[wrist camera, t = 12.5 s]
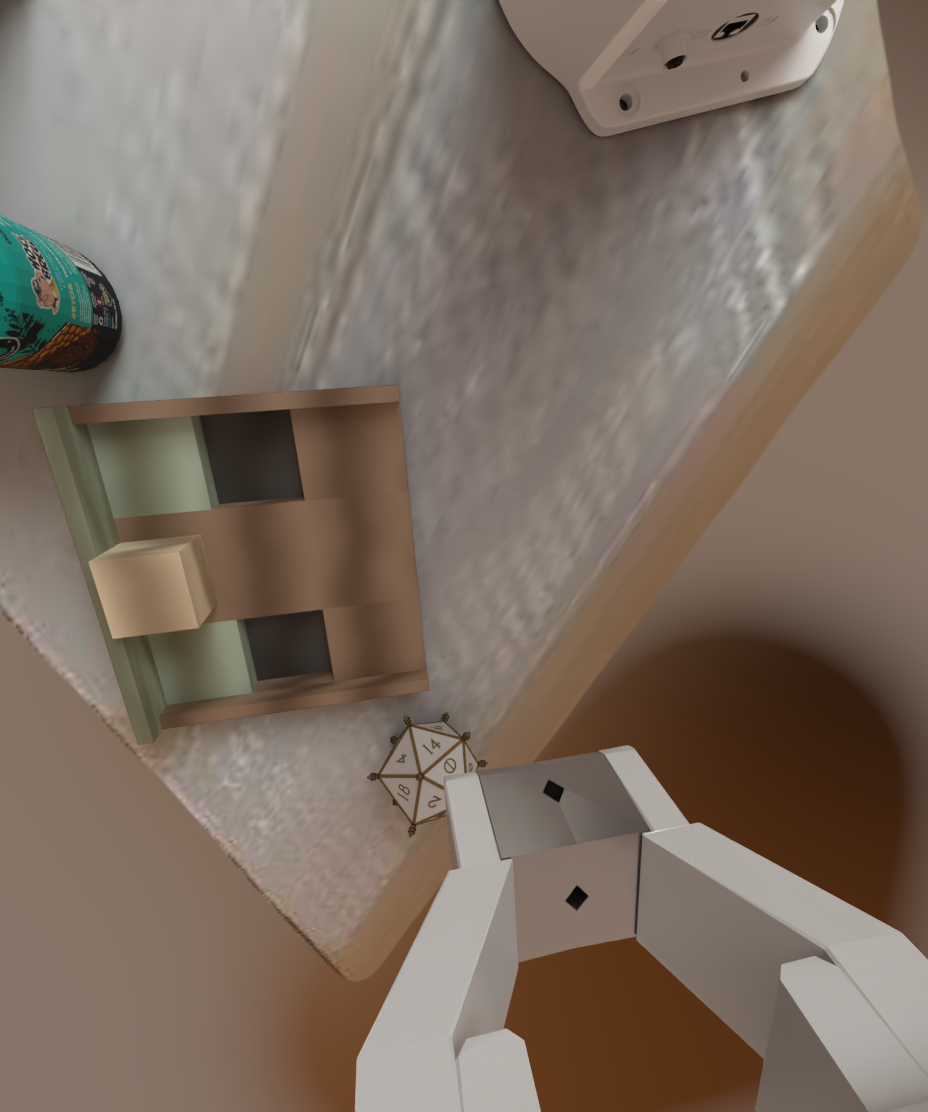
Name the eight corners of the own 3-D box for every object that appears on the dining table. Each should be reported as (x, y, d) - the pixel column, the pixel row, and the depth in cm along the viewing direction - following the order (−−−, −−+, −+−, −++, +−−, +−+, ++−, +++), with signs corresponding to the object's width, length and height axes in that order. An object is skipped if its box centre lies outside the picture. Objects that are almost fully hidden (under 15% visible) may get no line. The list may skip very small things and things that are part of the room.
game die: (406, 700, 47) (378, 698, 38) (497, 723, 46) (492, 726, 36) (379, 804, 45) (342, 830, 35) (474, 832, 43) (463, 865, 34)
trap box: (397, 385, 35) (399, 384, 31) (425, 667, 42) (431, 702, 37) (81, 406, 33) (31, 408, 28) (166, 703, 40) (137, 744, 35)
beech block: (200, 534, 34) (179, 551, 31) (217, 603, 36) (198, 628, 32) (120, 542, 34) (88, 561, 30) (141, 612, 35) (112, 639, 31)
